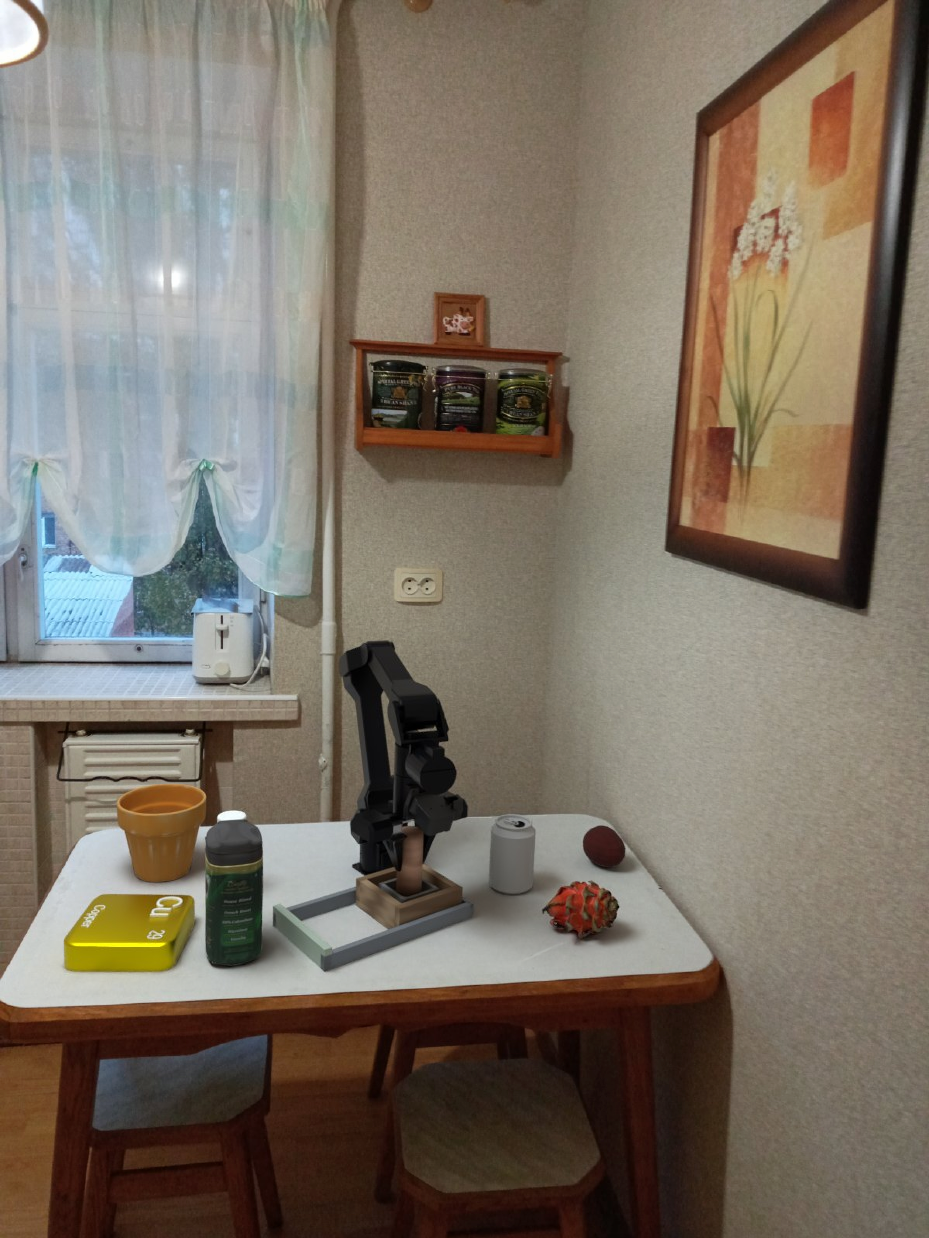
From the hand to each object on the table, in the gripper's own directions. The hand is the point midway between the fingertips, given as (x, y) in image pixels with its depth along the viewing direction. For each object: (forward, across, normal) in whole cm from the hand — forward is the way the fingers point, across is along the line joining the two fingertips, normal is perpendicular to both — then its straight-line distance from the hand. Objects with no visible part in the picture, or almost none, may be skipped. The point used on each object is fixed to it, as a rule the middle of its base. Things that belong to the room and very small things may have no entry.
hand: (409, 867), depth 140 cm
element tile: (+8, -38, +15) cm, 42 cm away
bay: (+7, -6, 0) cm, 10 cm away
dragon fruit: (+8, +18, -20) cm, 28 cm away
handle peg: (+4, 0, 0) cm, 4 cm away
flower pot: (+8, -26, +35) cm, 44 cm away
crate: (+7, 0, 0) cm, 7 cm away
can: (+8, +19, -3) cm, 21 cm away
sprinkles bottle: (+8, -20, +21) cm, 30 cm away
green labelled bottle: (+8, -27, +5) cm, 28 cm away
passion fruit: (+8, +39, -6) cm, 40 cm away
